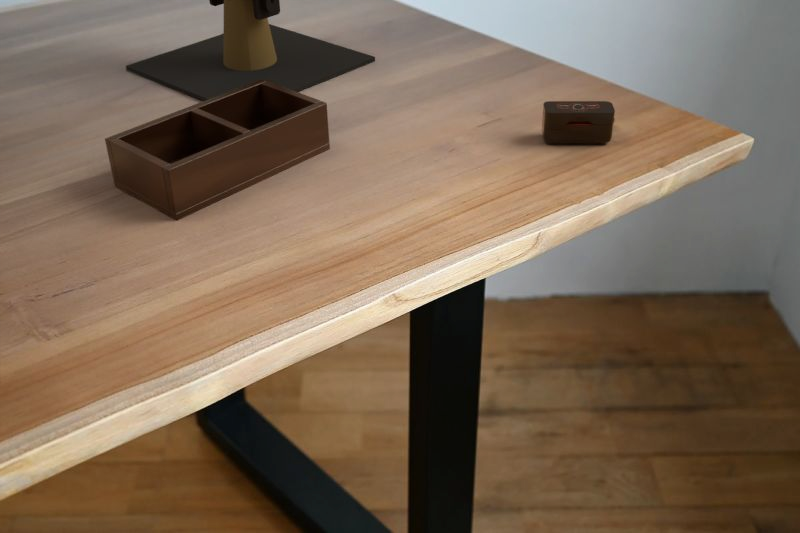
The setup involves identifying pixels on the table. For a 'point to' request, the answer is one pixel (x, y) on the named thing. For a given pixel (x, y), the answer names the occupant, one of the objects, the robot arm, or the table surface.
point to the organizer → (217, 147)
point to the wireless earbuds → (577, 121)
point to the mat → (209, 77)
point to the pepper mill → (246, 38)
